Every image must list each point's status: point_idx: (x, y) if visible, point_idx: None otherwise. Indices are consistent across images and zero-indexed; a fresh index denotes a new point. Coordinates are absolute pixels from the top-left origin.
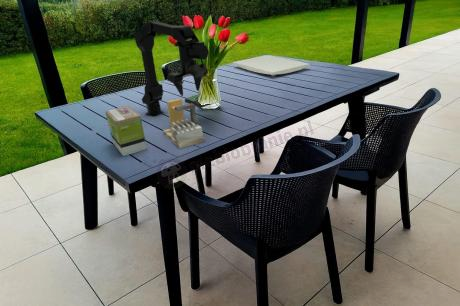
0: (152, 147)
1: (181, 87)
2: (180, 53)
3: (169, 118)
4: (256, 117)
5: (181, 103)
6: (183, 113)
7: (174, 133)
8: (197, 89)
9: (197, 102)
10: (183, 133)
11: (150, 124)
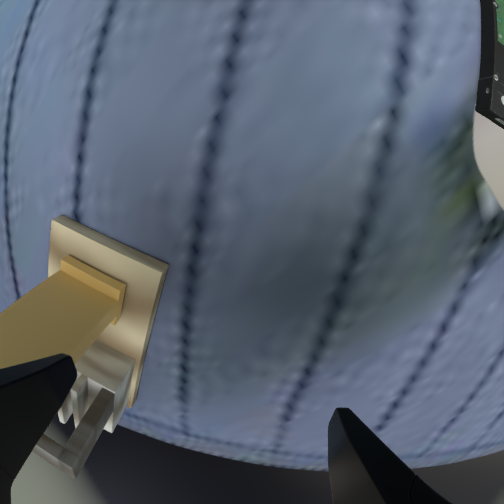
0: (7, 275)
1: (14, 453)
2: None
3: (24, 298)
4: (414, 425)
5: None
6: (77, 361)
7: None
8: (332, 430)
9: (498, 78)
10: None
11: (98, 47)
